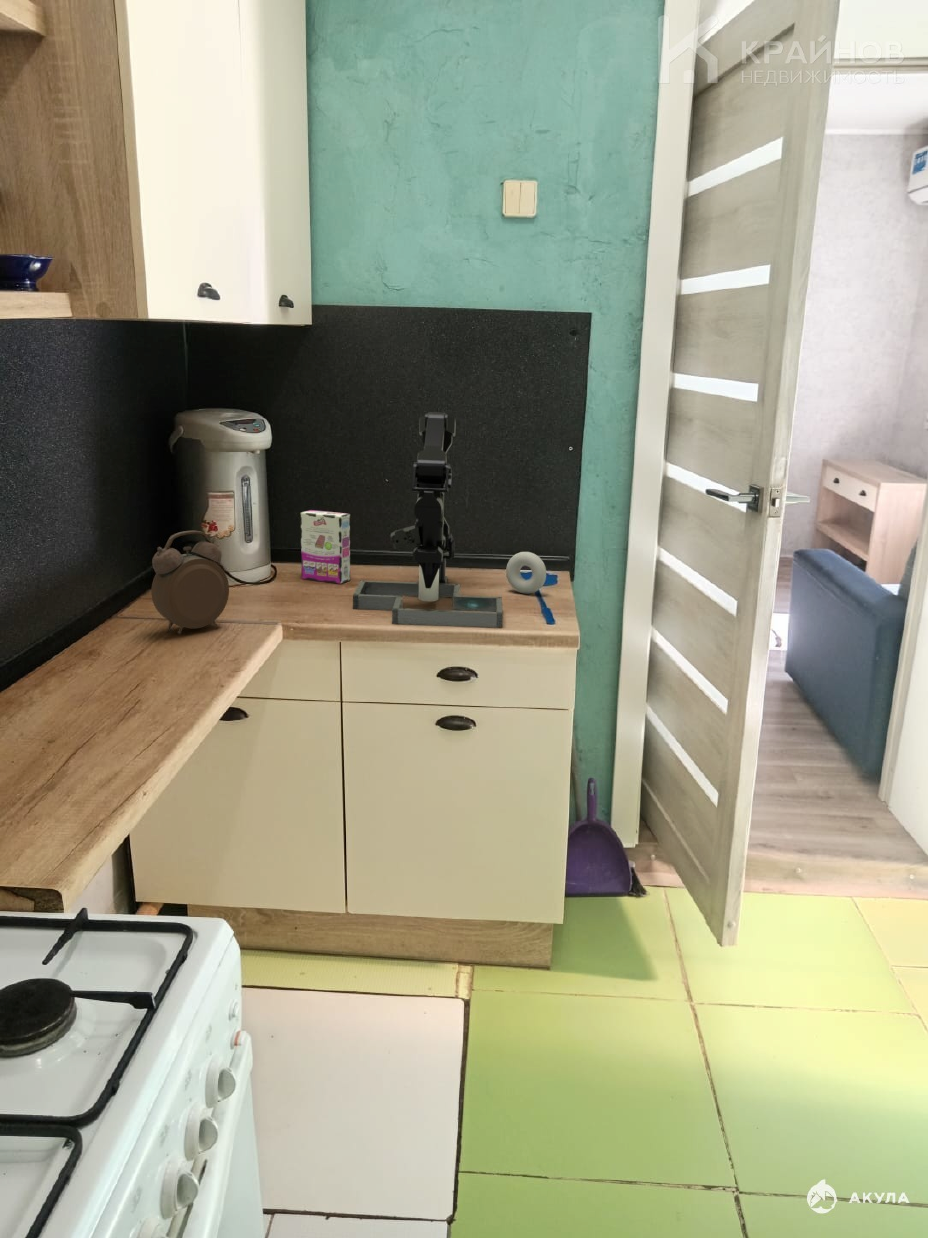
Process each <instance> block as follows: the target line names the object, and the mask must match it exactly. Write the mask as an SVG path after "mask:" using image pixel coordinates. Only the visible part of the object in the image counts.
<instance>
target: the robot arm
mask: <svg viewBox="0 0 928 1238" xmlns="http://www.w3.org/2000/svg"><path fill="white" fill-rule="evenodd" d="M456 423H457V421H456V418H455V417H452V416H449V415H448V414H447V413H445V412H434V411H433V412H431V411H430V412H428V413H425V415H423V416H420V417H419V427H418V429H419V430H418V431H419V432H418V434H419V435H420V436H422V437H421V438H422V439H421V440H422V444H423V445H424V446H423V449H422V450H421V451H419V452H418V453H417V457H416V462H415V461H414V462H413V470H412V482H411V483H412V484H411V491H412V492H418V493H417V500H416V502H415V505H414V508H413V512H414V516H415V517H416V520H415V523H414V525H410V526H406V527H404V528H400V529H398V530H397V529H396V530H394V531H393V532H391V533H390V540H391V544H392V545H393V548H394V549H395V550H398V549H401V548H402V547H406V546H408V545H412V544H414V545H413V546H415V548H414V549H413V551H412V562H414V563H417V564H418V565H420V566H421V568H422V573H423V578H424V582H425V587H426V588H429V589H430V588H431V586H432V584H433V581H434V579H435V577H436V574H437V572H438V570H439V583H444V584H448V583H447V582H448V576H446V574H447V573H446V570H447V569H446V568H447V567H446V565H447V560H451V559H453V558H455V539H454V537H453V534H452V533H450V526H449V523H448V521H447V520H446V518H445V517H444V514H445V513H444V512H445V511H444V510H445V493H448V492H449V489H452V476H453V474H452V473H453V469H452V467H451V464H450V463H449V462H447V453H448V451H449V449H450V448H451V446H452V444H453V437H456Z"/></svg>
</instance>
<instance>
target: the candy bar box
mask: <svg viewBox="0 0 928 1238" xmlns="http://www.w3.org/2000/svg"><path fill="white" fill-rule="evenodd" d="M300 550H301V551H300V554H301V555H300V556H301V557H300V558H301V559H300V560H301V580H309V581H315V582H324V583H330V584H332V583H333V584H339V585H341V584H345V583H346V582H349V581H350V580H351V513H345V512H344V513H343V512H333V511H325V510H324V511H323V510H313V509H310V510H305V511H302V512H300Z"/></svg>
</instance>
